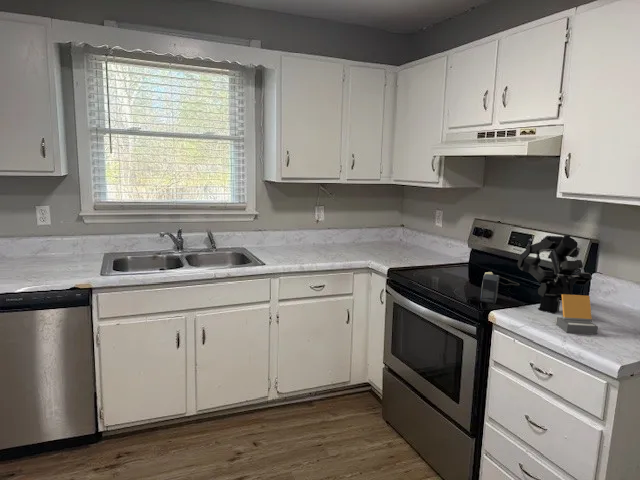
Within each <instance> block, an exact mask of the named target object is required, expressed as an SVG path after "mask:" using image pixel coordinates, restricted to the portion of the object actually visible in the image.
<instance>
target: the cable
mask: <svg viewBox="0 0 640 480" xmlns="http://www.w3.org/2000/svg"><path fill="white" fill-rule="evenodd" d="M485 274H491V275H495V274H494V273H493V272H492V271H488V272H484V275H483V277H484V276H485ZM499 279H503V280H507V281H508V282H509V283H507V284H506V283H503V282H502V281H500V280H499V284H501V285H503V286H514V287H515V286H516V287H519V286H521V284H520V283H519V282H516V281H513V280H511V279H509V278H507V277H506V278H505V277H502V276H500V275H499Z"/></svg>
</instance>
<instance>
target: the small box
mask: <svg viewBox="0 0 640 480" xmlns="http://www.w3.org/2000/svg"><path fill="white" fill-rule="evenodd" d="M484 275H485V276H484ZM484 275H483V278H482V284H481V290H480V291H481V293H480V302H483V303H490V304H495V305H496V303H497V299H498V296H499V295H498V294H499V293H498V292H499V284H500V283H499V281H500V278H499V276H500V275H498V274H494V275H491V274H485V273H484Z"/></svg>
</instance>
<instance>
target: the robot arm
mask: <svg viewBox="0 0 640 480" xmlns="http://www.w3.org/2000/svg"><path fill="white" fill-rule="evenodd" d="M577 248H578V241H576V239H574V238H572V237H571V235H569V234H567V235H566V234H564V235H563V236H559V235H546V236H545V237H543V238H542V241H539V242H536V243H533V244H529V245H527V246H526V249H524V251H523V252H521V254H519V257H518V260H517V267H518V269H519V270H521V271H522V272H525V273H529V274H530V275H531V276H532V277H533V278H534V279H535V280H537V281H538V284H541V285H540V286H539V287H538V289H537V294H538V295H539V296H540V302H539V303H540V304H539V307H538V308H537V309H538V310H539V311H542V310H543V312H546V311H547V312H546V313H551V314H555V313H556V314H557V312H559V311H560V309H561V307H560V305H561V300H560V299H562V294H566V295H573V287H574V284H575V285H576V286H586V285H587V284H588V283H590V281H591V280H593V276H592V274H591V273H589V272H579V273H577V275H573V274H574V273H576V271H578V270H580V269H582V268H584V266H583V265H584V264H583V260H581V259H576V260H568V257H569V256H570V255H571V254H572V253H573V252H574V251H575V250H576V249H577ZM546 251H550V252H549V254H548V256H547V259H550V260H551V264H552V267H551V270H544V269H543V268H541V266H540V264H541V262H542V260H541V257H540V254H541V253H543V252H546ZM530 254H531V255H532V254H533V255H536V257H535V258H534V257H529V256H530Z"/></svg>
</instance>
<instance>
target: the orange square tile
mask: <svg viewBox="0 0 640 480" xmlns="http://www.w3.org/2000/svg"><path fill="white" fill-rule="evenodd" d="M590 297H591V296H590V295H582V294H572V295H566V294H562V298H561V305H562V306H561V307H562V318H563V320H570V321H588V322H592V323H593V317H592V309H591V299H590Z"/></svg>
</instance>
